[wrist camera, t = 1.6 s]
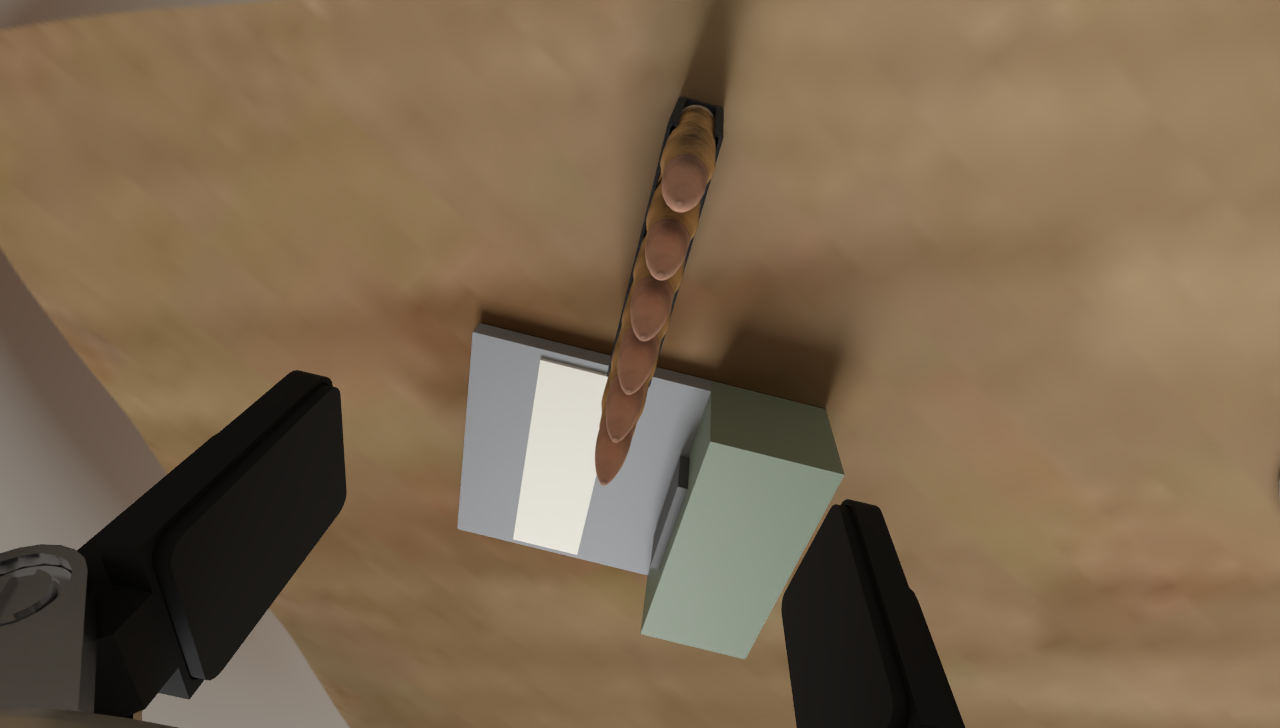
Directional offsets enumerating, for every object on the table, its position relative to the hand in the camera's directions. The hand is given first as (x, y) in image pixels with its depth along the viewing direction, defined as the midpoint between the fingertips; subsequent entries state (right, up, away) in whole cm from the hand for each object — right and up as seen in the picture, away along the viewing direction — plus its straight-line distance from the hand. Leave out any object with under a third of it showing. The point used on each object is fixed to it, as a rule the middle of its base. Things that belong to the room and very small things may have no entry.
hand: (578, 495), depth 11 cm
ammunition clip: (+2, +9, +15) cm, 17 cm away
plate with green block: (0, -3, +22) cm, 22 cm away
